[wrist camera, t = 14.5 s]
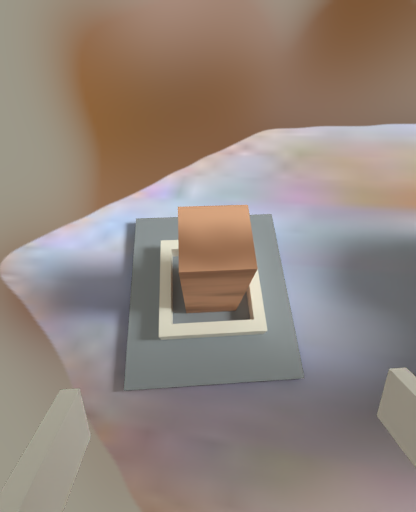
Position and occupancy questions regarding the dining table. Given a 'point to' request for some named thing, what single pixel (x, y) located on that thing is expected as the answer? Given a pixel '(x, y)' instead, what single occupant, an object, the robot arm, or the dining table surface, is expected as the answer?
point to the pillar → (215, 256)
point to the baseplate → (206, 319)
